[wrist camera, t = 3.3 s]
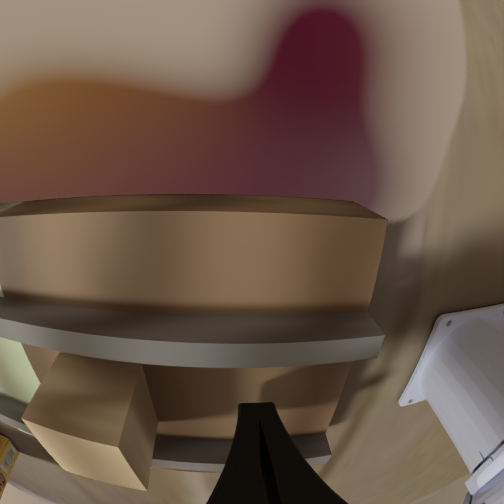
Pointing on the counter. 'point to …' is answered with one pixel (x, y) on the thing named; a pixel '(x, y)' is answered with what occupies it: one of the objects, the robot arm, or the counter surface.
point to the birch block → (96, 419)
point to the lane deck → (194, 307)
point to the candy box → (6, 460)
